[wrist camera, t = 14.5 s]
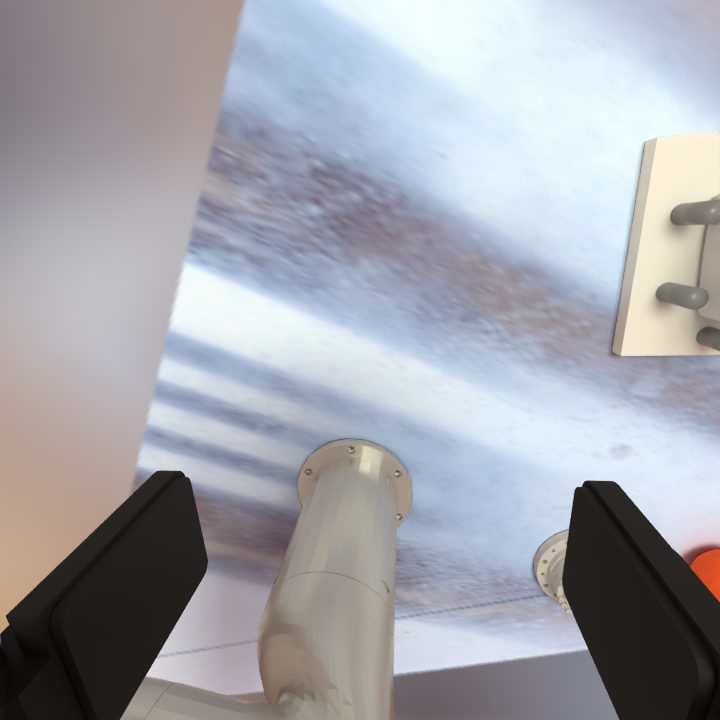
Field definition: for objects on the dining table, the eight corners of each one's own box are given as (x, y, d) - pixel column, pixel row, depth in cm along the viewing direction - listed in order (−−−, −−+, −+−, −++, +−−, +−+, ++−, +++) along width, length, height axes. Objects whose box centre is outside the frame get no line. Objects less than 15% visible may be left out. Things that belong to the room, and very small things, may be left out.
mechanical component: (555, 606, 45) (642, 577, 43) (571, 644, 41) (668, 614, 39) (517, 545, 43) (606, 511, 41) (529, 579, 39) (628, 543, 37)
